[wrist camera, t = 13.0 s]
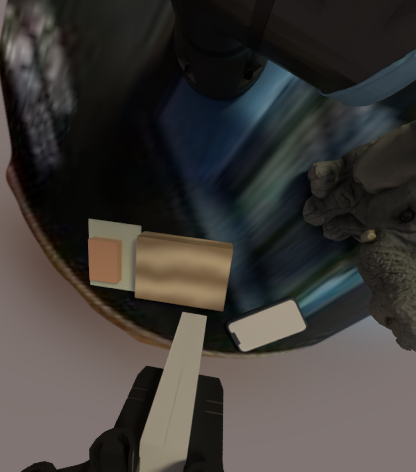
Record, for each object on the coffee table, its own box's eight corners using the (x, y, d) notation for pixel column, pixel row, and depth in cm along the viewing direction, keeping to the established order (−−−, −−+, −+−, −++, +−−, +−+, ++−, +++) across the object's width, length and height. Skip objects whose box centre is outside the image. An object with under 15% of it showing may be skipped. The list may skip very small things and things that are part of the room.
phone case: (291, 292, 44) (224, 319, 46) (294, 296, 42) (224, 324, 45) (307, 324, 46) (240, 349, 48) (310, 329, 44) (241, 354, 47)
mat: (89, 218, 43) (88, 218, 42) (141, 225, 42) (140, 226, 42) (91, 283, 47) (90, 284, 46) (138, 291, 46) (138, 291, 46)
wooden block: (144, 231, 42) (136, 236, 38) (232, 243, 41) (233, 249, 38) (142, 287, 46) (134, 297, 42) (223, 300, 45) (223, 311, 41)
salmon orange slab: (117, 243, 41) (121, 240, 43) (88, 239, 41) (94, 236, 43) (117, 283, 43) (121, 279, 45) (89, 279, 44) (95, 275, 46)
